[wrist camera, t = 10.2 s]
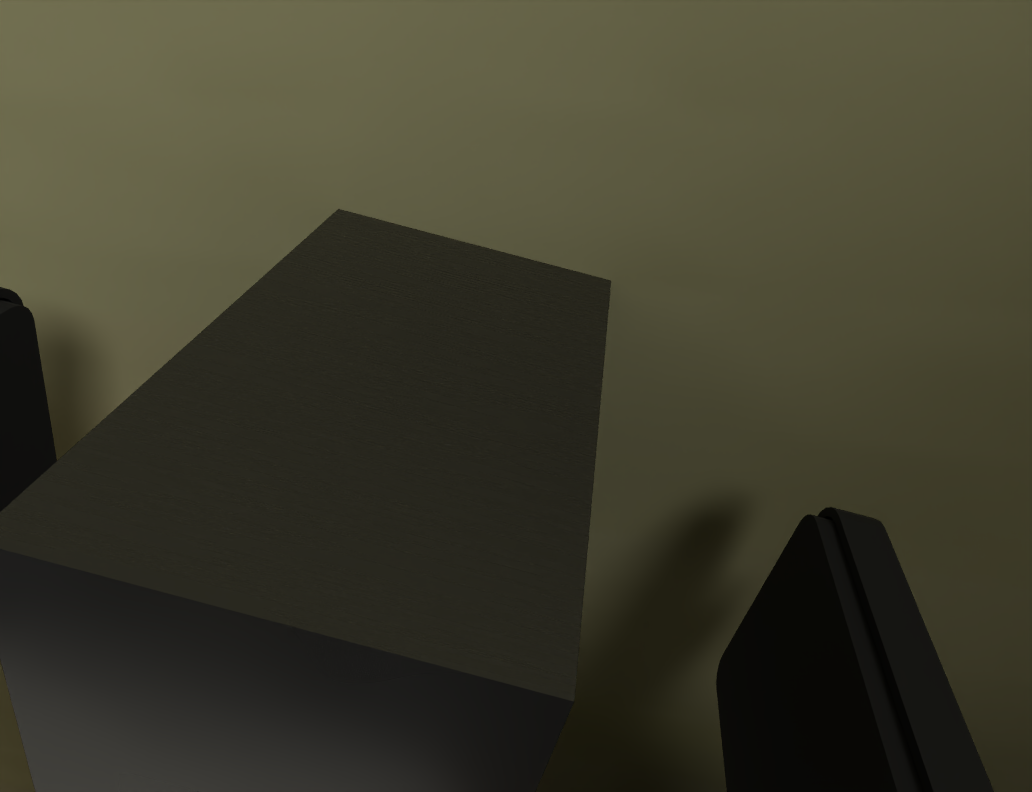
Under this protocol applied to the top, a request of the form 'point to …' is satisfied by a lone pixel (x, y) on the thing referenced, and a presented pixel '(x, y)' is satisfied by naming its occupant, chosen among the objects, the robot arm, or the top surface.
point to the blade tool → (322, 536)
